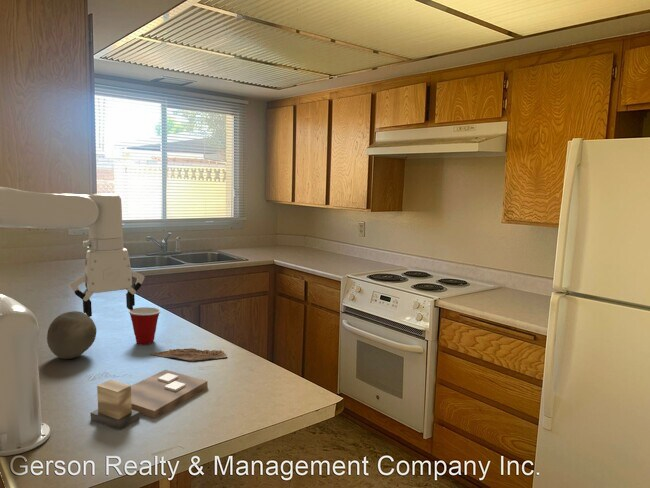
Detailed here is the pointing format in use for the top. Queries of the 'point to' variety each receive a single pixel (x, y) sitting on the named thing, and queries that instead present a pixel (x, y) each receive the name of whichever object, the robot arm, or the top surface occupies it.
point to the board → (163, 393)
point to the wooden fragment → (192, 354)
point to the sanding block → (114, 405)
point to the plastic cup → (144, 324)
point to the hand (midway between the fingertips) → (109, 312)
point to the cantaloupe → (71, 334)
